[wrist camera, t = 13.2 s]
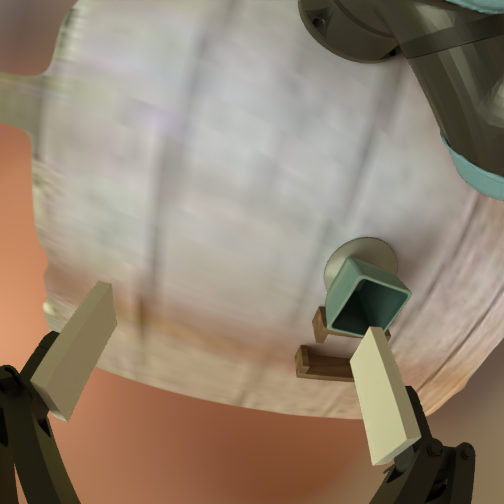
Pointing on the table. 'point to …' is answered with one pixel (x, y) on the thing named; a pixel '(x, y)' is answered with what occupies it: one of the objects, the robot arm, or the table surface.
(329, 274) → the olive beige round disc
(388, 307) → the flower pot
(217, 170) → the table surface
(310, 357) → the frame
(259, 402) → the table surface
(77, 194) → the table surface
